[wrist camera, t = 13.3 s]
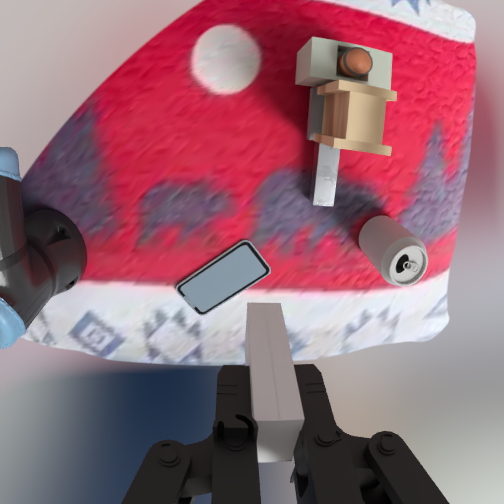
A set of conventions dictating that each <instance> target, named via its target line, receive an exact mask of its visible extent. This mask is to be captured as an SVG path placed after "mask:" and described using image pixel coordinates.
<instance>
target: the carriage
mask: <svg viewBox="0 0 504 504" xmlns="http://www.w3.org/2000/svg"><path fill="white" fill-rule="evenodd" d="M396 98H397V92H396V91H392V90H388V89H384V88H379V87H375V86H370V85H365V84H360V83H355V82H350V81H344V80H337V81H334V82H331V83H328V84H325V85H322V86H319V87H318V88H315V87H313V88H310V100H309V113H308V125H307V137H306V139H308V140H313V141H316V142H319V143H322V144H324V145H327V146H330V147H333V148H340V149H347V150H355V151H362V152H369V153H375V154H381V155H388V156H391V149H392V147H391V146H387V145H383V144H382V138H383V129H384V118H385V107H386V101H396Z"/></svg>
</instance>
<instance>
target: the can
mask: <svg viewBox="0 0 504 504" xmlns="http://www.w3.org/2000/svg"><path fill="white" fill-rule="evenodd" d="M359 246H360V248H361V250H362V252H363V253H364V254H365V255H366V257H367V258H368V259H369V260H370V262H371V263H372V264H373V265H374V266H375V268H376V269H377V270H378V271H379V273H380V274H381V275H382V276H383V278H384V279H385V280H386V281H387V282H388V283H390V284H393V285H398V286H409V285H412V284H414V283H415V282H417V281H418V280H419V279H420V278H421V277H422V276H423V274H424V273H425V271H426V268H427V265H428V257H427V254H426V249H425V246H424V244H423V243H422V242H421V241H420V240H419V239H418V238H417V237H416V236H414V235H413V234H412V233H410V232H409V231H408V230H407V229H405V228H404V227H403V226H402V225H400V224H399V223H398V222H396V221H395V220H394V219H392V218H390V217H388V216H384V215H380V216H375V217H373V218H371V219H370V220H368V221H367V222H366V223H365V224H364V225H363V227H362V229H361V231H360V234H359Z"/></svg>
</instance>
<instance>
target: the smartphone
mask: <svg viewBox="0 0 504 504" xmlns="http://www.w3.org/2000/svg"><path fill="white" fill-rule="evenodd" d="M270 272H271V268H270V266H269V265H268V264H267V262H266V261H265V260H264V258H263V257H262V256H261V255H260V253H259V252H258V251H257V249H256V248H255V247H254V245H253V244H252V243H251V242H250V241H249V240H242V241H240V242H239V243H237V244H236V245H234V246H233V247H231V248H230V249H228V250H227V251H226V252H224V253H223V254H221V255H220V256H218V257H217V258H215V259H214V260H212V261H211V262H209V263H208V264H206V265H205V266H203V267H202V268H200V269H199V270H197V271H196V272H194V273H193V274H192V275H190V276H189V277H187V278H186V279H184V280H183V281H181V282H180V283H179V284H178V285H177V287H176V291H177V293H178V294H179V295H180V296H181V297H182V298H183V299H184V300H185V301H186V302H187V303H188V304H189V305H190V306H191V307H192V309H193V310H194V311H195V312H196V313H197V314H199V315H202V316H203V315H206V314H208V313H209V312H211V311H212V310H214V309H216V308H217V307H219V306H220V305H222V304H224V303H225V302H227V301H228V300H230V299H232V298H233V297H235V296H236V295H238V294H239V293H241V292H243V291H244V290H246V289H247V288H249V287H250V286H252V285H254V284H255V283H257V282H258V281H260V280H261V279H263V278H264V277H266V276H268V275H269V274H270Z"/></svg>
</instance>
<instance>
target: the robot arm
mask: <svg viewBox="0 0 504 504" xmlns="http://www.w3.org/2000/svg"><path fill="white" fill-rule="evenodd" d="M20 182H22V179H21V177H20V173H19V162H18V155H17V153H16V152H15V150H13V149H12V148H10V147H0V349H4V348H8V347H10V346H11V345H12V344H13V343H14V342H15V341H16V340H17V339H18V338H19V337H20V336H22V335H23V334H24V332H25V331H26V329H27V328H28V327H29V325H30V324H31V323H32V321H33V320H34V319H35V317H36V316H37V315H38V313H39V312H40V311H41V310H42V308H43V307H44V306H45V304H46V303H47V302H48V301H49V299H50V298H51V297H53V296H55V295H58V294H60V293H62V292H65V291H67V290H69V289H71V288H72V287H73V286H74V285H75V284H76V283H77V282H78V281H79V280H80V278H81V277H82V276H83V274H84V272H85V269H86V264H87V251H86V247H85V243H84V240H83V238H82V236H81V234H80V232H79V230H78V229H77V227H76V226H75V225H74V223H73V222H72V221H71V220H70V219H69V218H67V217H66V216H65V215H63V214H62V213H60V212H58V211H55V210H51V209H40V210H37V211H35V212H33V213H31V214H30V215H28V216H27V217H25V218H24V215H23V206H22V196H21V185H20ZM245 363H246V366H241V365H223V367H222V368H221V370H220V371H219V373H218V378H217V398H216V418H215V421H214V424H213V432H212V434H211V435H210V436H209V437H208V438H207V439H205V440H203V441H201V442H198V443H194V444H188V445H183V444H182V443H180V442H177V441H173V440H164V441H159V442H157V443H156V444H154V445H153V446H152V447H151V448H150V449H149V451H148V453H147V454H146V456H145V458H144V460H143V462H142V465H141V466H140V468H139V470H138V472H137V474H136V476H135V478H134V480H133V482H132V484H131V486H130V488H129V490H128V491H127V493H126V496H125V497H124V499H123V501H122V503H121V504H193V503H194V500H195V497H196V496H197V495H202V494H207V493H211V492H212V502H211V504H261V496H260V482H259V468H258V462H280V461H281V462H282V461H292V458H293V455H294V461H295V467H294V470H293V473H292V475H291V479H290V483H293V481H294V484H295V491H296V498H297V504H449V502H448V501H447V500H446V498H445V497H444V495H443V494H442V493H441V491H440V490H439V488H438V487H437V486H436V484H435V483H434V482H433V480H432V479H431V478H430V476H429V475H428V474H427V472H426V471H425V469H424V468H423V466H422V465H421V464H420V462H419V461H418V460H417V458H416V457H415V456H414V454H413V453H412V451H411V450H410V449H409V447H408V446H407V445H406V443H405V442H404V441H403V439H402V438H401V437H400V436H399V435H397V434H395V433H393V432H388V431H382V432H378V433H376V434H375V435H373V436H372V437H371V438H364V437H356V436H351V435H349V434H347V433H345V432H343V431H342V430H341V429H340V428H339V427H338V426H337V425H336V422H335V420H334V416H333V413H332V409H331V406H330V402H329V399H328V395H327V393H326V388H325V385H324V382H323V378H322V374H321V372H320V371H319V370H318V369H317V368H316V366H315V365H314V364H302V365H293V360H292V355H291V350H290V345H289V341H288V336H287V331H286V327H285V322H284V317H283V313H282V308H281V303H247V321H246V339H245Z"/></svg>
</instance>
